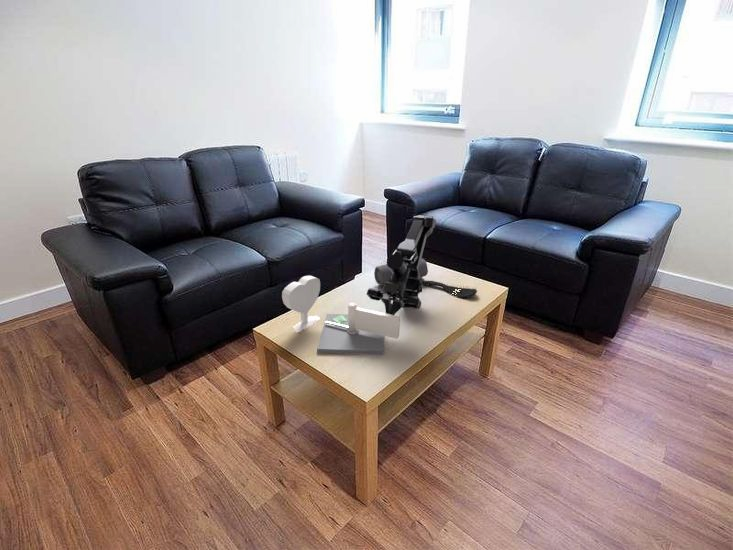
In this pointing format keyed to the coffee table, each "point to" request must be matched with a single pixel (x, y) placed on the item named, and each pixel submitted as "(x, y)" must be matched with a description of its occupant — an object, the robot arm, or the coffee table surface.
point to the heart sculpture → (302, 299)
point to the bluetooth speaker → (385, 274)
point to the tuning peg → (371, 321)
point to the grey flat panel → (347, 338)
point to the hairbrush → (453, 289)
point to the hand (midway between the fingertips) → (387, 321)
